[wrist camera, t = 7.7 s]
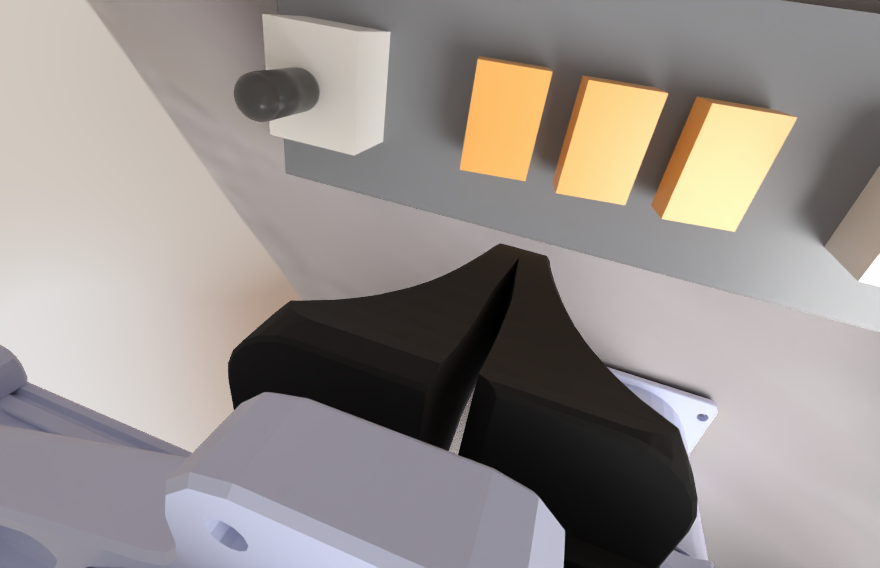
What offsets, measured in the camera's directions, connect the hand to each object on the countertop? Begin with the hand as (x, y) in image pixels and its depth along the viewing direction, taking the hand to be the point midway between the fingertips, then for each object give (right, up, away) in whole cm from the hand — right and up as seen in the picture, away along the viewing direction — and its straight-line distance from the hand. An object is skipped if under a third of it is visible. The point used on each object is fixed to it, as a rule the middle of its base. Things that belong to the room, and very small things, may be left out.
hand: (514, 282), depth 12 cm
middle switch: (+4, +5, +4) cm, 8 cm away
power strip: (+5, +7, +7) cm, 11 cm away
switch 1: (0, +6, +5) cm, 8 cm away
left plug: (-6, +8, +6) cm, 12 cm away
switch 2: (+7, +4, +3) cm, 9 cm away
